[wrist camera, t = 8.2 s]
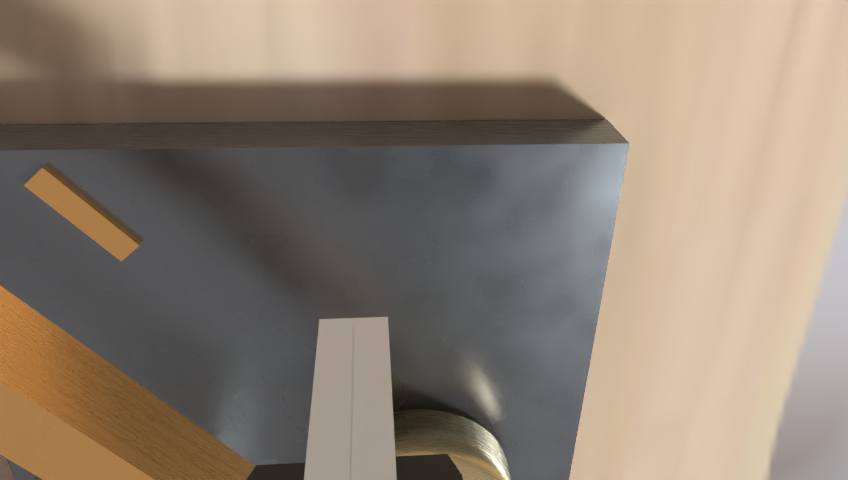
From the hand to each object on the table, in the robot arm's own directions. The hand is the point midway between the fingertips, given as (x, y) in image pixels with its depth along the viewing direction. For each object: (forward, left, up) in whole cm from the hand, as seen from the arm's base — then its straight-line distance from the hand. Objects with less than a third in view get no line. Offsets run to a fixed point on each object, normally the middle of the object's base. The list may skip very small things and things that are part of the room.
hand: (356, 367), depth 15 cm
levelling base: (-7, +2, -8) cm, 10 cm away
